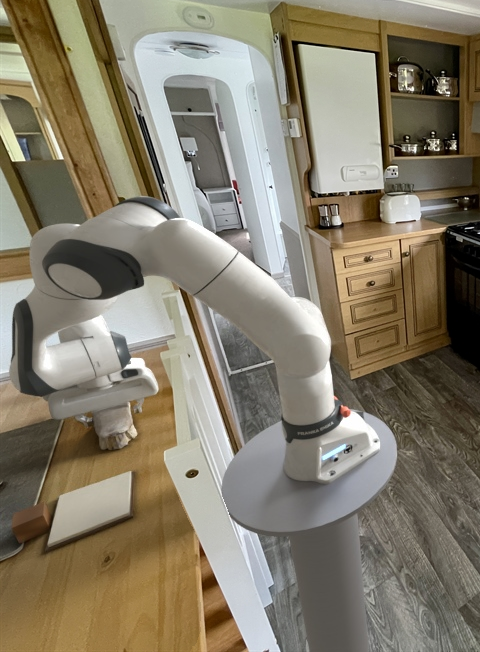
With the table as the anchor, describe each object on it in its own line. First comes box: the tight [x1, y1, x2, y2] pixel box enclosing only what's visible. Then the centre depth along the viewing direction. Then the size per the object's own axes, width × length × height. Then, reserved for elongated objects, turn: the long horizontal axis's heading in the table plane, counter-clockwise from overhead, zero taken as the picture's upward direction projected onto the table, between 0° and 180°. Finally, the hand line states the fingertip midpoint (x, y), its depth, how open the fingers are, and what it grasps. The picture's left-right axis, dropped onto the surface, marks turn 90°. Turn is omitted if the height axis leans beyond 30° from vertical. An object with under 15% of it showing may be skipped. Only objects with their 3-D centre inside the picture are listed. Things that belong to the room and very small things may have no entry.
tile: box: [44, 470, 136, 553], centre depth 76 cm, size 12×14×1 cm
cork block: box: [10, 501, 53, 545], centre depth 71 cm, size 4×4×4 cm
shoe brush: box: [92, 401, 138, 451], centre depth 98 cm, size 24×8×5 cm, turn 46°
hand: (115, 418), depth 98 cm, fingers open, 8 cm apart
